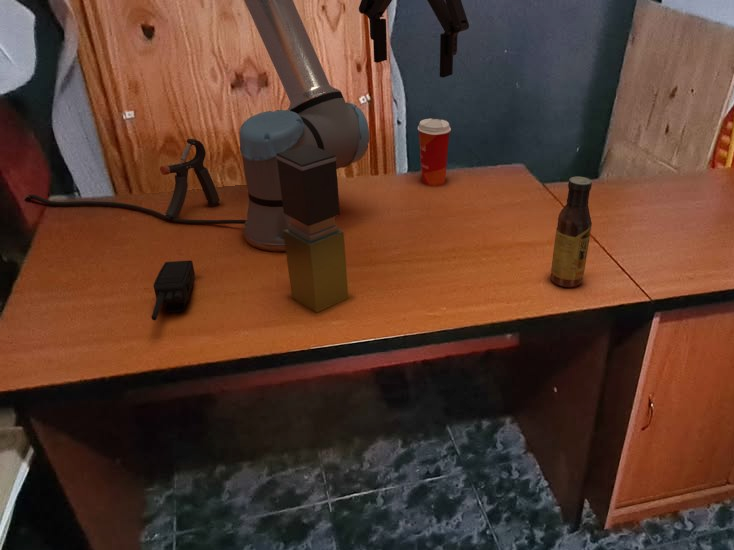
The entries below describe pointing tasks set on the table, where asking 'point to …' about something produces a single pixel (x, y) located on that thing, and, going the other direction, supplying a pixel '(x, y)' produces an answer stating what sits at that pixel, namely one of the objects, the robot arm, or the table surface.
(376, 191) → the table surface
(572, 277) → the sauce bottle
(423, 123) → the paper cup
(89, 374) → the table surface
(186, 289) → the walkie-talkie
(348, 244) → the table surface
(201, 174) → the hand grip strengthener
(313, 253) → the olive square canister
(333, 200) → the dark lidded box
